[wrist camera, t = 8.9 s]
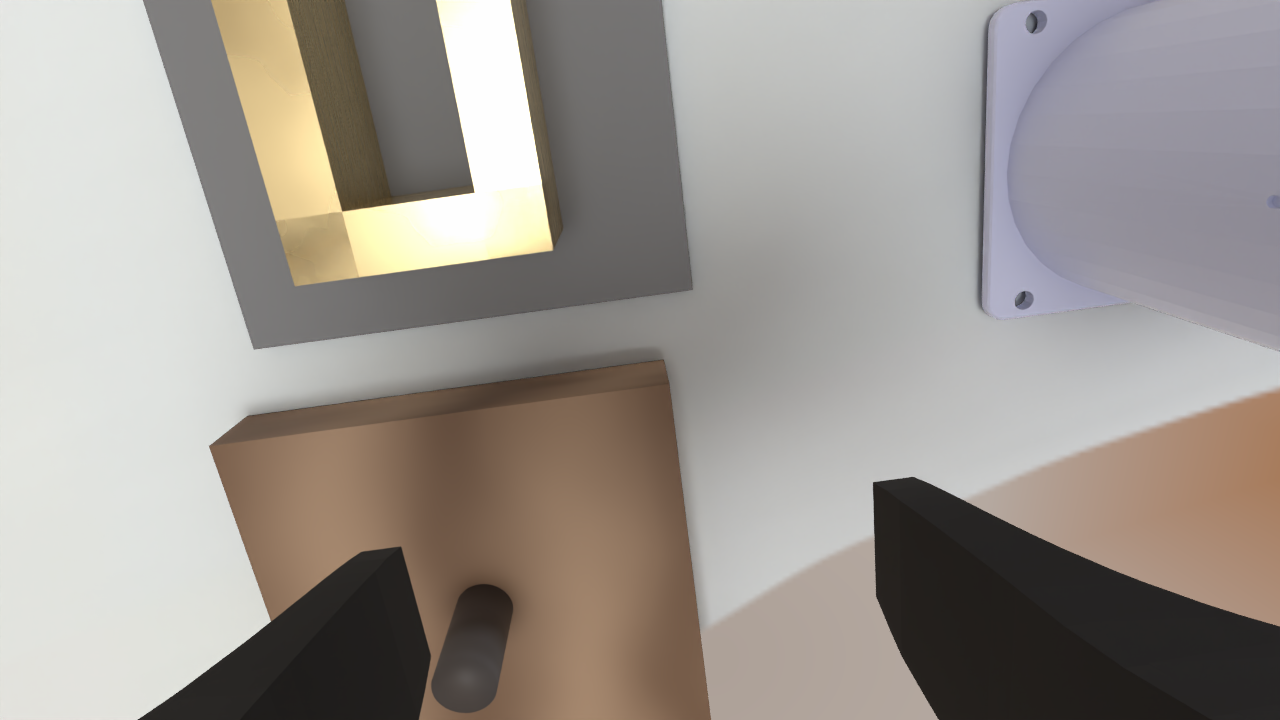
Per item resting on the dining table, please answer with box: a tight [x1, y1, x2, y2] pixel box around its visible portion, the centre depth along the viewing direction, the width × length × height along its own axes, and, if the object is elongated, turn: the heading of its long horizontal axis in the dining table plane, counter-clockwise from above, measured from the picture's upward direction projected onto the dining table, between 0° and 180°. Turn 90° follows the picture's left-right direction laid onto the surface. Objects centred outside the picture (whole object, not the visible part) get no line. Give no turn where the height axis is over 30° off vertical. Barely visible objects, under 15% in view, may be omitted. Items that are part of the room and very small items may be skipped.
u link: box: [211, 0, 563, 286], centre depth 16 cm, size 8×6×4 cm
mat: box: [143, 0, 693, 349], centre depth 17 cm, size 12×12×1 cm
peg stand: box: [209, 360, 711, 720], centre depth 20 cm, size 12×12×5 cm
